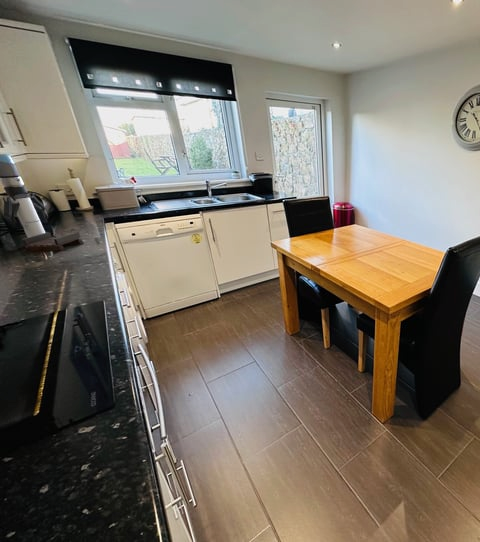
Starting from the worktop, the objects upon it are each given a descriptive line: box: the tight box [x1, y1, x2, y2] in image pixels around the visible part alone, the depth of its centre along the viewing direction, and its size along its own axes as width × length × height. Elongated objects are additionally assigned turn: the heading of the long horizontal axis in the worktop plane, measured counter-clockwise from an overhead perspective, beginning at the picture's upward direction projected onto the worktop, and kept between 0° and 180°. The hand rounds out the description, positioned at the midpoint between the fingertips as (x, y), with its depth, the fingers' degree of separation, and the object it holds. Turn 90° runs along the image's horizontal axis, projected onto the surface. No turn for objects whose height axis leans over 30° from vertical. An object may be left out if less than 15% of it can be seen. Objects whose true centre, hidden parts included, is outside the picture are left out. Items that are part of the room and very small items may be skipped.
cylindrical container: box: [12, 197, 46, 238], centre depth 154 cm, size 7×7×25 cm
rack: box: [21, 231, 84, 253], centre depth 151 cm, size 16×14×7 cm
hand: (33, 225), depth 155 cm, fingers open, 13 cm apart
